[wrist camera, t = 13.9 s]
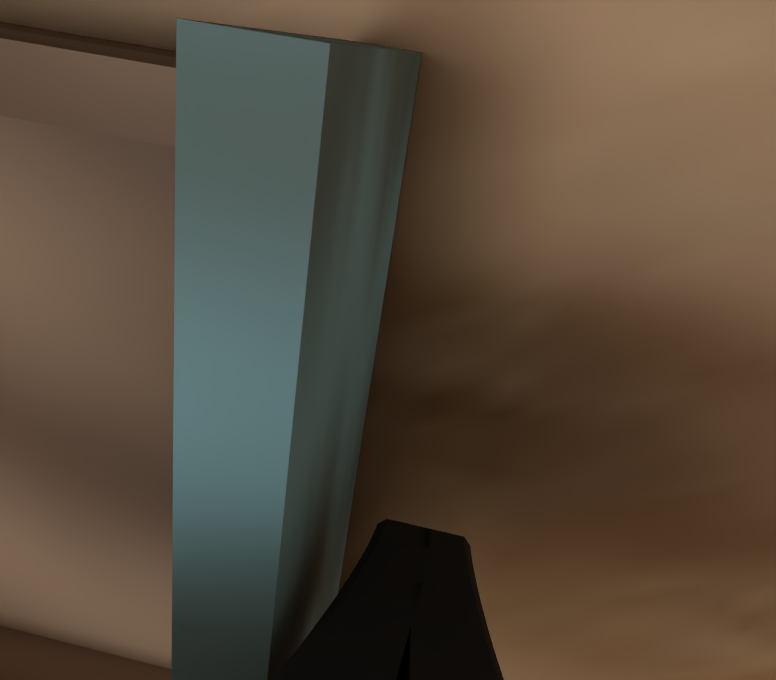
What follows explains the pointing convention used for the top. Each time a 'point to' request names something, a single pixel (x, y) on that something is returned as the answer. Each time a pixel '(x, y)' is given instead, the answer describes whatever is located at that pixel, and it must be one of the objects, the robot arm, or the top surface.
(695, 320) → the top surface
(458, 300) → the top surface
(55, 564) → the tray
